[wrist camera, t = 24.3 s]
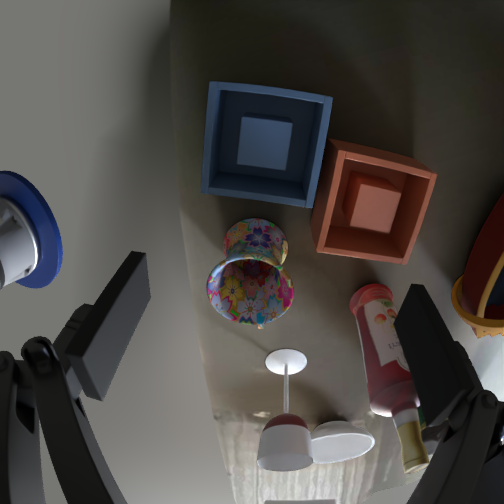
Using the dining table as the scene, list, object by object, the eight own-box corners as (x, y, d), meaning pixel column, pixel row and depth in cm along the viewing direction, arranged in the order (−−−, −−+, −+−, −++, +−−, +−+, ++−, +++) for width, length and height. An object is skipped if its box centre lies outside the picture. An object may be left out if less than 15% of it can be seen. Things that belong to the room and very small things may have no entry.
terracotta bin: (309, 225, 40) (315, 252, 34) (327, 137, 34) (338, 149, 28) (390, 238, 40) (406, 265, 34) (413, 158, 34) (437, 174, 28)
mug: (214, 218, 40) (196, 261, 31) (285, 208, 39) (288, 250, 30) (233, 291, 46) (223, 343, 37) (296, 284, 45) (299, 337, 36)
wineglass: (258, 371, 56) (250, 467, 38) (272, 342, 51) (268, 449, 34) (297, 379, 56) (298, 473, 39) (315, 351, 52) (323, 455, 35)
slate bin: (212, 174, 37) (200, 193, 31) (221, 81, 31) (209, 80, 26) (306, 187, 37) (312, 208, 31) (322, 95, 31) (333, 97, 26)
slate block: (241, 153, 35) (236, 164, 31) (246, 112, 32) (241, 116, 28) (284, 159, 35) (285, 170, 31) (290, 118, 32) (293, 123, 28)
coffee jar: (429, 382, 56) (450, 451, 40) (397, 390, 58) (414, 462, 42) (437, 355, 52) (465, 430, 36) (403, 364, 53) (425, 444, 37)
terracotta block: (341, 208, 37) (349, 225, 33) (350, 170, 35) (360, 183, 31) (377, 215, 37) (388, 233, 33) (387, 179, 35) (401, 193, 31)
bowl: (383, 422, 66) (387, 444, 60) (323, 447, 73) (324, 467, 68) (344, 399, 59) (347, 425, 54) (277, 427, 67) (277, 451, 62)
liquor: (338, 308, 47) (367, 483, 22) (360, 271, 43) (414, 455, 19) (377, 318, 47) (418, 478, 23) (399, 284, 44) (465, 449, 19)
